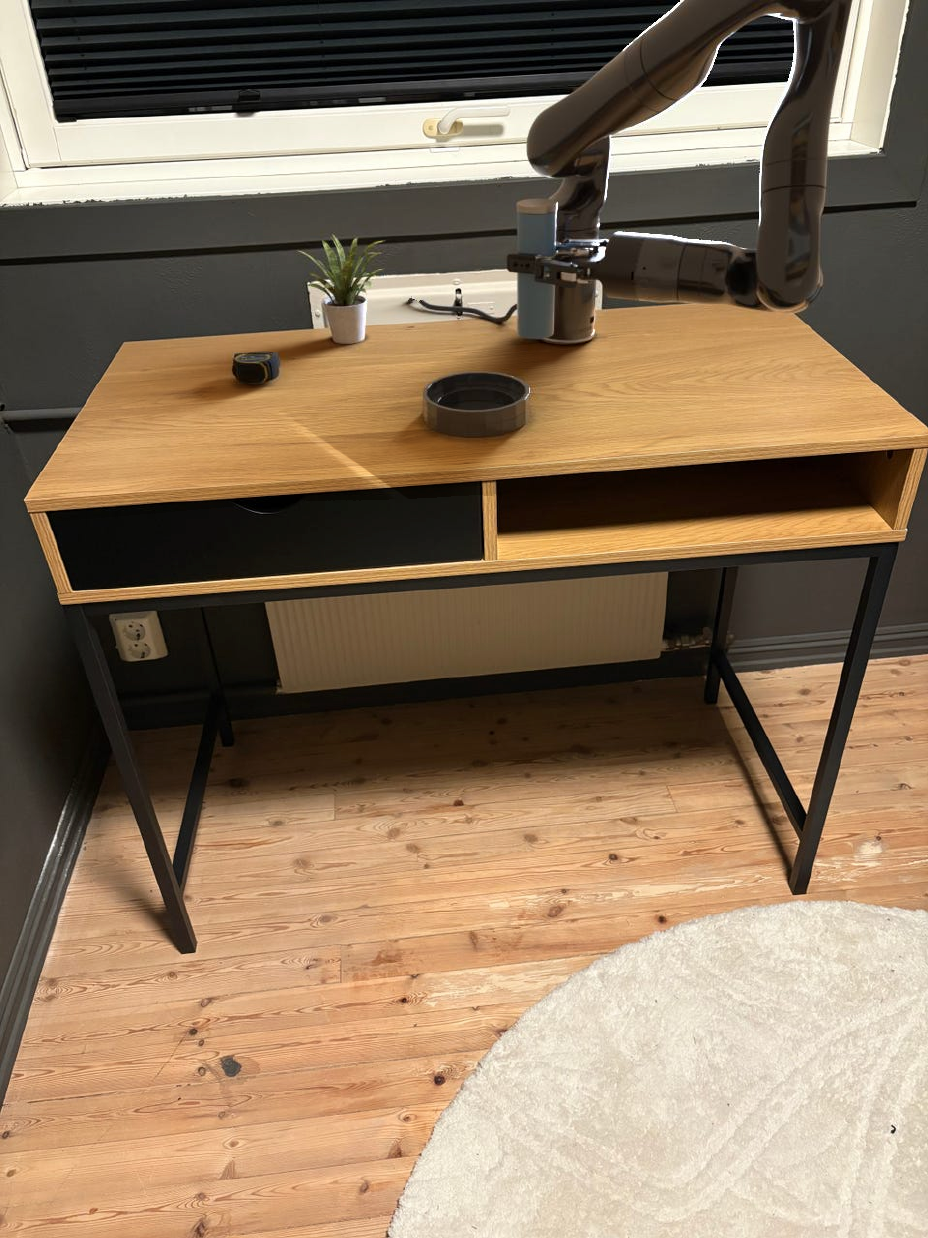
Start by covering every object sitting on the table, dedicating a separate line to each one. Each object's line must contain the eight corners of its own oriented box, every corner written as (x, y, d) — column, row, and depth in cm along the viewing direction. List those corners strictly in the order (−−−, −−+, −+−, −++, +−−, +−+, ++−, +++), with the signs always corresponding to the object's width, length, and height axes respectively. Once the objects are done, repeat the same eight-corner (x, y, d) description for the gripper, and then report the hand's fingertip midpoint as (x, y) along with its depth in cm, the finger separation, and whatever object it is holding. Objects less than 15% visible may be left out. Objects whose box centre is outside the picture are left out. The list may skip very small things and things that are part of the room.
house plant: (416, 333, 156) (410, 229, 147) (365, 358, 147) (356, 249, 138) (348, 320, 163) (339, 220, 153) (296, 344, 153) (282, 239, 144)
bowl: (404, 415, 128) (402, 387, 126) (487, 390, 135) (487, 363, 132) (464, 450, 119) (463, 421, 116) (551, 422, 125) (551, 393, 123)
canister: (508, 332, 124) (508, 202, 115) (538, 324, 126) (540, 196, 117) (532, 342, 121) (533, 208, 111) (562, 333, 123) (566, 202, 114)
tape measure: (282, 371, 144) (279, 346, 141) (278, 387, 138) (275, 362, 136) (237, 373, 143) (233, 349, 141) (231, 390, 138) (227, 365, 135)
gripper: (666, 221, 116) (537, 212, 122) (632, 249, 105) (493, 238, 111) (660, 283, 120) (536, 272, 126) (627, 316, 110) (494, 302, 116)
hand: (516, 256), depth 119 cm, fingers closed on canister, 5 cm apart
